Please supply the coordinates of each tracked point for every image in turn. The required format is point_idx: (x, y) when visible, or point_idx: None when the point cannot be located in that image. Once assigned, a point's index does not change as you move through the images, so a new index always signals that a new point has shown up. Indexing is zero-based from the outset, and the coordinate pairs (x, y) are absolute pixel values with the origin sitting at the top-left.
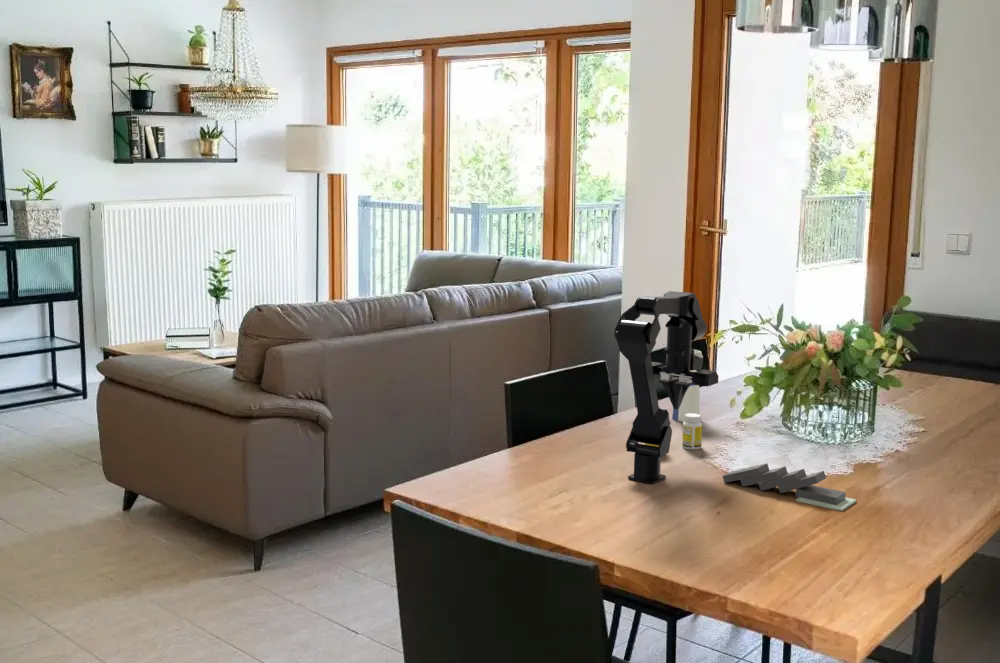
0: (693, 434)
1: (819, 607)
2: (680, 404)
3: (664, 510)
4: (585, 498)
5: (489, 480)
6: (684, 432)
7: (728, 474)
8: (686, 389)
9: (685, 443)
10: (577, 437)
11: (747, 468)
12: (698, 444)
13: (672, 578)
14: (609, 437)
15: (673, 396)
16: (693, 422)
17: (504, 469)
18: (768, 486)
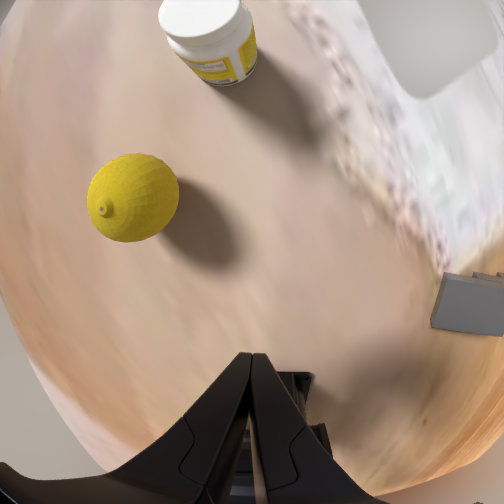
0: (236, 63)
1: (470, 457)
2: (276, 374)
3: (359, 452)
4: None
5: (120, 451)
6: (195, 68)
7: (445, 326)
8: (343, 487)
9: (212, 82)
10: (3, 214)
11: (483, 301)
12: (254, 61)
13: (391, 491)
14: (27, 160)
15: (236, 466)
16: (222, 37)
17: (91, 422)
18: None
